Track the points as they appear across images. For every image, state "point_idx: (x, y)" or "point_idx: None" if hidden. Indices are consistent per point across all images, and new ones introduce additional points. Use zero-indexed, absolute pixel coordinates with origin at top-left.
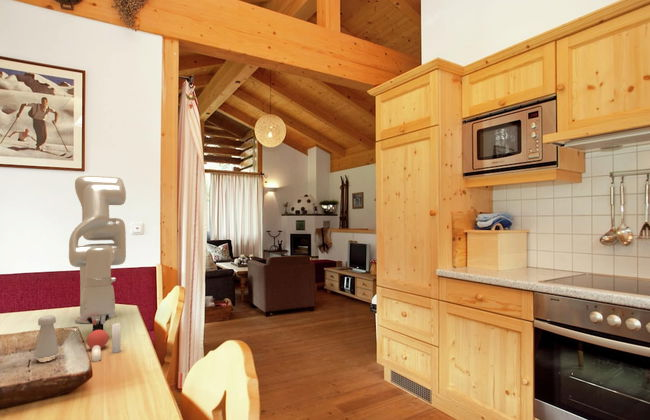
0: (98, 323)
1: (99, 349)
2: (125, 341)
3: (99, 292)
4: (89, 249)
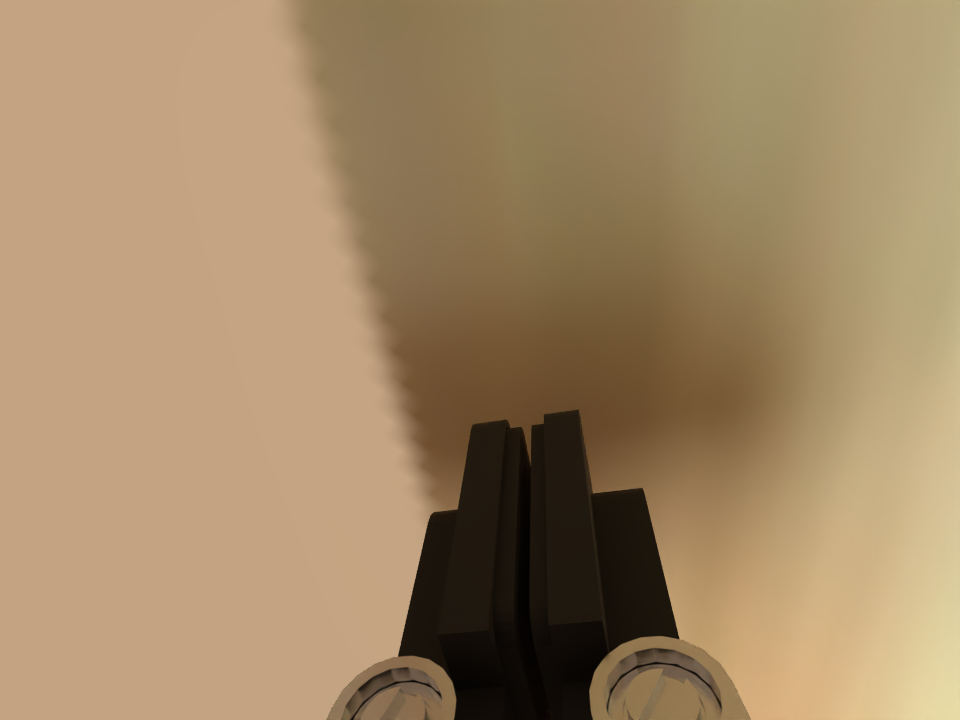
0: (557, 652)
1: None
2: (921, 710)
3: None
4: None
